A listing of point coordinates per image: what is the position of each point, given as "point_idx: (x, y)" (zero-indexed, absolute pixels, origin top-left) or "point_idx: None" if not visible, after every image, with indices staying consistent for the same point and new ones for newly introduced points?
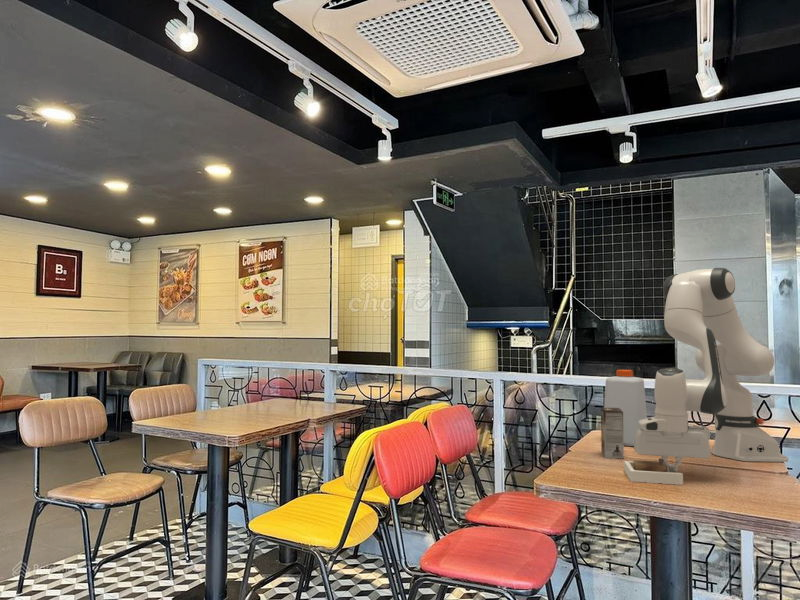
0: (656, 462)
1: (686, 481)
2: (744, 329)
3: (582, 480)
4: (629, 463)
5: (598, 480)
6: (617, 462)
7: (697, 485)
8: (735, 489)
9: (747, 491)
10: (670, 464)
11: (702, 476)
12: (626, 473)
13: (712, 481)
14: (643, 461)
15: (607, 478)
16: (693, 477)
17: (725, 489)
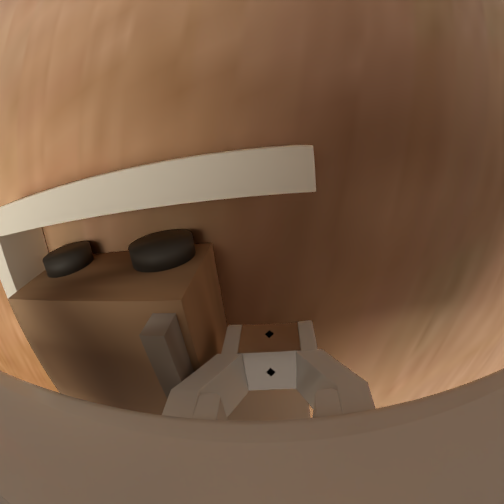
0: (139, 347)
1: (349, 329)
2: None
3: (10, 374)
4: (9, 274)
5: (28, 373)
6: (16, 16)
7: (374, 378)
8: (482, 365)
9: (497, 369)
10: (286, 183)
11: (476, 166)
12: None
13: (479, 275)
14: (58, 333)
15: (29, 350)
16: (425, 210)
17: (452, 382)
